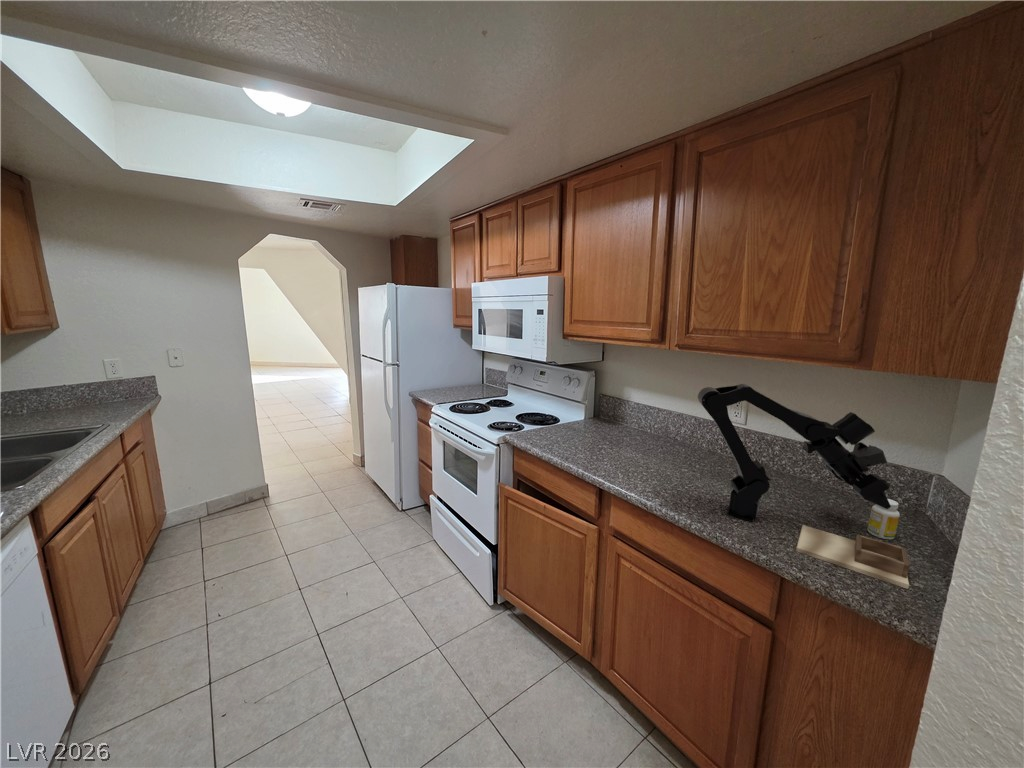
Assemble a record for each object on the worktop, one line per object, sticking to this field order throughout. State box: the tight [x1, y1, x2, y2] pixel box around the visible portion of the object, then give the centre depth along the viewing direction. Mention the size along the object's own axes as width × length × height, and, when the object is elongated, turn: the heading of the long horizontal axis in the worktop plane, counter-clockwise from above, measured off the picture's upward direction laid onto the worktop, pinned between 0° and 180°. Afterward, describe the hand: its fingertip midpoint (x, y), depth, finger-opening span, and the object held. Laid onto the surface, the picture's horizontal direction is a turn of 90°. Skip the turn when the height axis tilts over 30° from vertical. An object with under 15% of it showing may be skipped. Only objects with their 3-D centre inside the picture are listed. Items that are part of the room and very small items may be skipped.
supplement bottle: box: [867, 498, 901, 540], centre depth 103 cm, size 5×5×10 cm
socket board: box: [795, 524, 910, 590], centre depth 94 cm, size 20×14×4 cm
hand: (877, 499), depth 103 cm, fingers open, 9 cm apart
